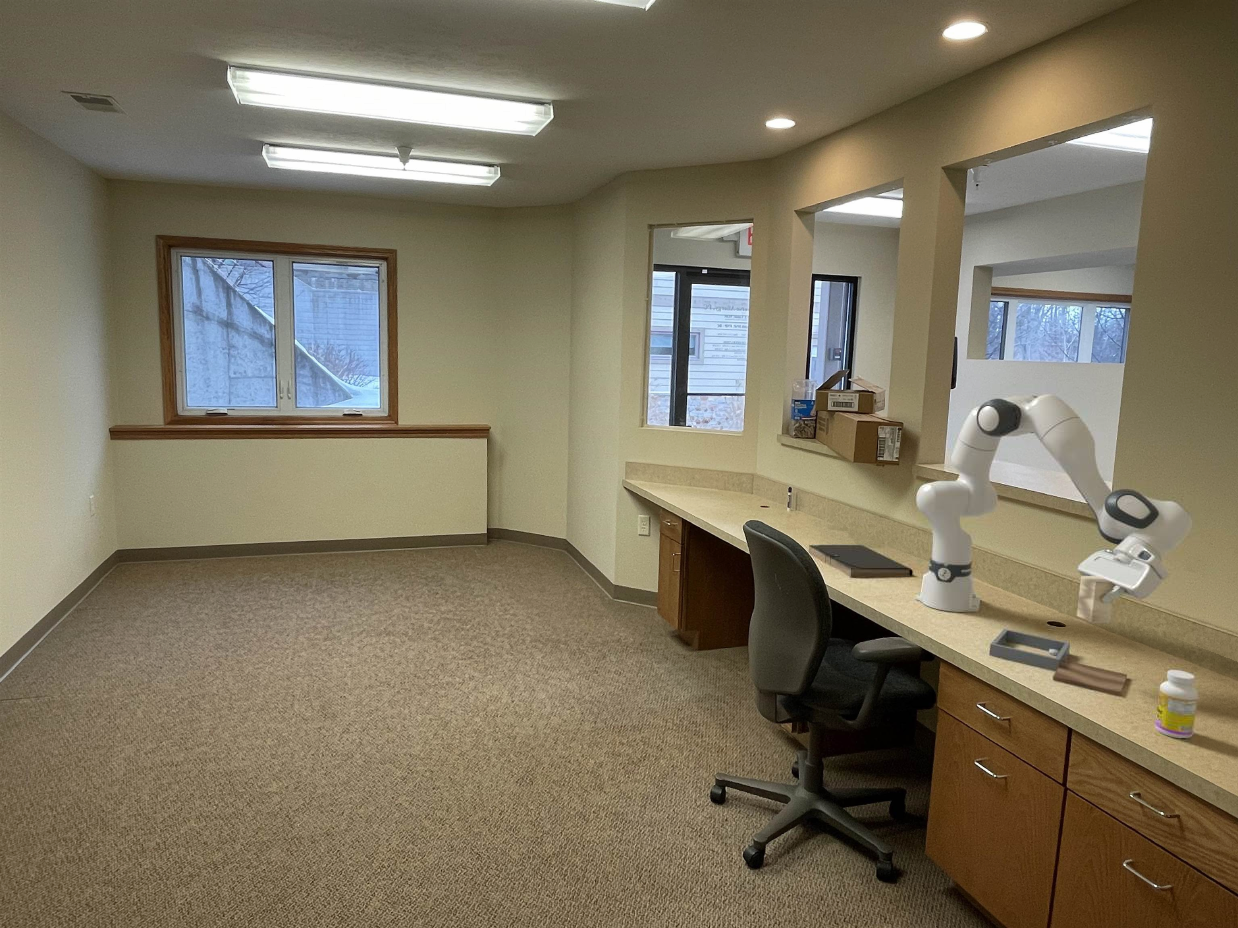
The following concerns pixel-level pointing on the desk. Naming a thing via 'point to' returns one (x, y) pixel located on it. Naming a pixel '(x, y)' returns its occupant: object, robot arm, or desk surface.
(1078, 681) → the walnut board
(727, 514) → the desk surface
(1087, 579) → the block
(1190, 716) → the supplement bottle
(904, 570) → the dark flat wooden case
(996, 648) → the parts tub
